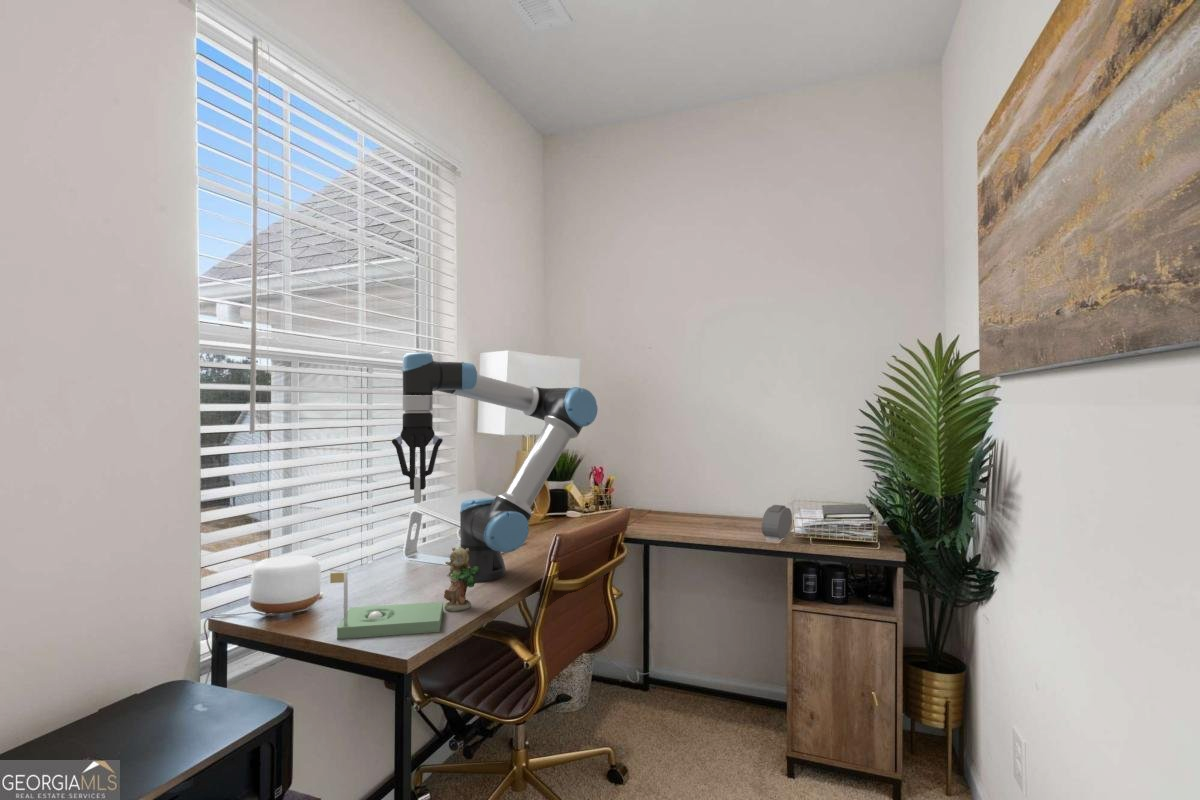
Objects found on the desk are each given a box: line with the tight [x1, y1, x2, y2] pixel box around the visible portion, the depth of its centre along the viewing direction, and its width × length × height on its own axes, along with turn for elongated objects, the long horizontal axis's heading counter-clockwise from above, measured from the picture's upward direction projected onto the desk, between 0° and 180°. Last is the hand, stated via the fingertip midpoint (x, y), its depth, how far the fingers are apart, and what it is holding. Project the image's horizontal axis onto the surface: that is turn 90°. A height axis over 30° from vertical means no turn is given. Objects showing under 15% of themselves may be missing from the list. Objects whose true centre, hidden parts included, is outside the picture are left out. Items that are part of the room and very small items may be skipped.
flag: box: [329, 571, 349, 626], centre depth 134 cm, size 4×1×12 cm, turn 101°
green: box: [336, 601, 444, 640], centre depth 141 cm, size 22×13×2 cm, turn 101°
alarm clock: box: [760, 504, 793, 541], centre depth 228 cm, size 23×6×13 cm, turn 150°
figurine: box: [443, 546, 479, 613], centre depth 152 cm, size 9×8×15 cm
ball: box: [368, 611, 383, 619], centre depth 140 cm, size 3×3×3 cm
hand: (417, 502), depth 156 cm, fingers closed
